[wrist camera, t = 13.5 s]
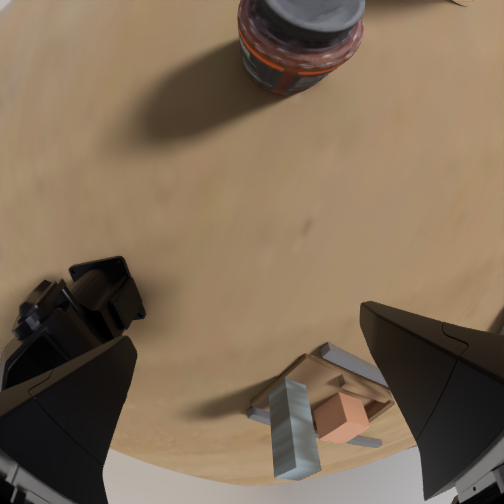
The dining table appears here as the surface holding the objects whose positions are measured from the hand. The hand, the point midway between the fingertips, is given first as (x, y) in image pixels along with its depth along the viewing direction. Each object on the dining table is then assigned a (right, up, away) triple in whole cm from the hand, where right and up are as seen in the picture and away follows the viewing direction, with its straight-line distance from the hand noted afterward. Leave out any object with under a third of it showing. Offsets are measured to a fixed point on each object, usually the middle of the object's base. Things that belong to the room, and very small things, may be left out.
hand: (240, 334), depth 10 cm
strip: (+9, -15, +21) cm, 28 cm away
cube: (+11, -17, +21) cm, 29 cm away
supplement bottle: (+3, +17, +7) cm, 18 cm away
